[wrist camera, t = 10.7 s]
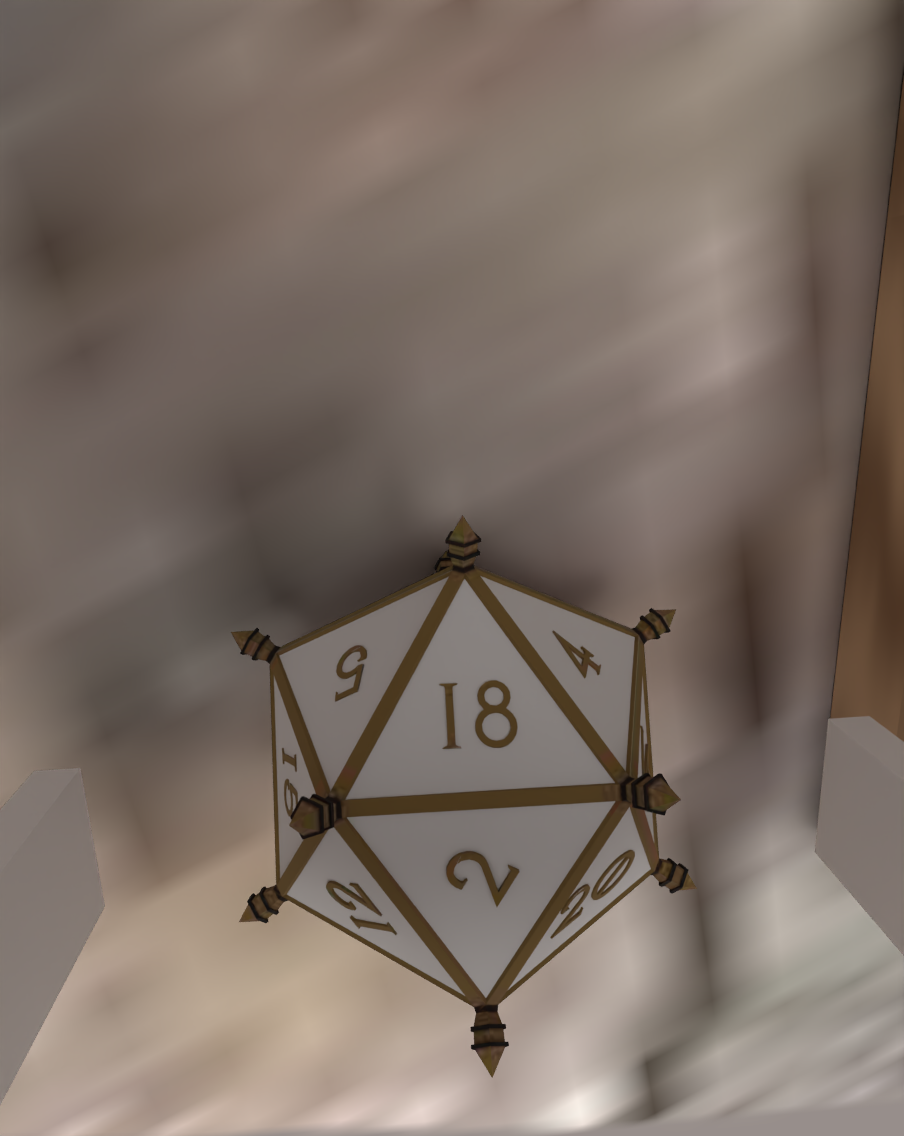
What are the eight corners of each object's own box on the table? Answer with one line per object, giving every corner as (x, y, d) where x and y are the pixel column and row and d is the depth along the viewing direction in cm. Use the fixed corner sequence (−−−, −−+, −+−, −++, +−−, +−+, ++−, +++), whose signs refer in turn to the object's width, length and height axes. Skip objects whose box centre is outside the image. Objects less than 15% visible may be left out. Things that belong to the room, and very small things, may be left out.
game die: (481, 564, 22) (829, 505, 13) (498, 878, 21) (877, 1019, 13) (144, 560, 16) (379, 463, 8) (152, 978, 16) (416, 1317, 8)
